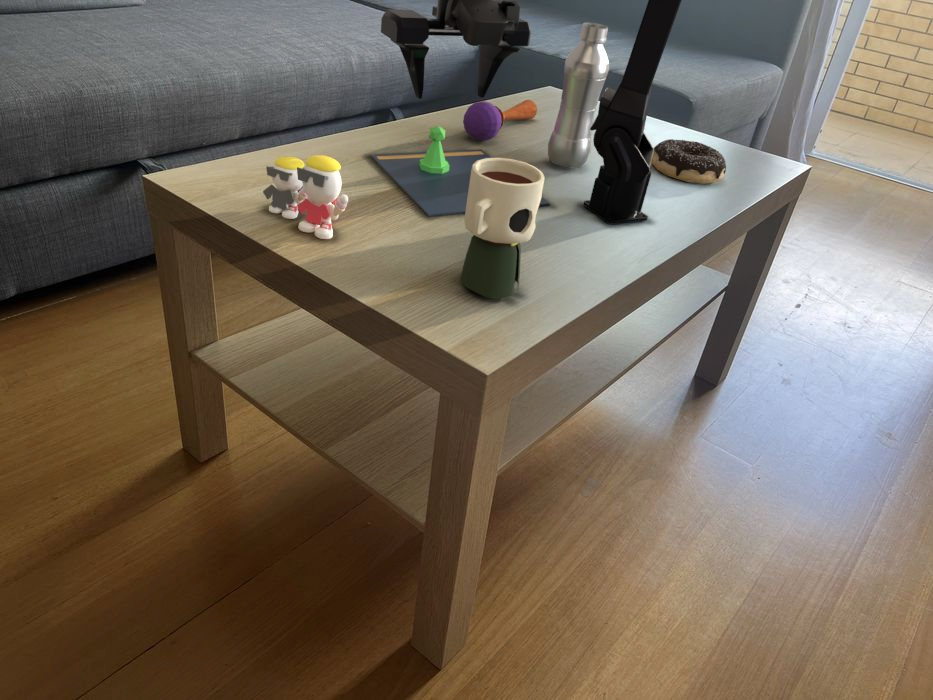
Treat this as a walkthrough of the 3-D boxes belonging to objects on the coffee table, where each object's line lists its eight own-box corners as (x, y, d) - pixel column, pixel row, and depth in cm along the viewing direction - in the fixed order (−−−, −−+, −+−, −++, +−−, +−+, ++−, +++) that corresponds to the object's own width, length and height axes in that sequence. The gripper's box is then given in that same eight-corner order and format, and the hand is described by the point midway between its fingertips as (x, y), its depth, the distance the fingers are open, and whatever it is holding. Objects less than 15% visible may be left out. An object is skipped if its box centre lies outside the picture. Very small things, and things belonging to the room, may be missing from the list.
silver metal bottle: (539, 165, 109) (566, 24, 98) (551, 153, 115) (579, 17, 103) (580, 176, 108) (612, 34, 96) (590, 163, 113) (623, 27, 102)
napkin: (480, 151, 111) (481, 149, 111) (549, 205, 97) (550, 202, 97) (370, 156, 103) (370, 154, 103) (428, 216, 89) (428, 213, 89)
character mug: (492, 321, 71) (515, 198, 64) (432, 295, 74) (447, 174, 66) (540, 280, 79) (565, 167, 72) (484, 258, 82) (503, 147, 75)
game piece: (445, 176, 100) (450, 133, 97) (415, 170, 100) (419, 127, 97) (451, 165, 104) (456, 124, 100) (422, 160, 104) (426, 118, 101)
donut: (681, 156, 122) (688, 132, 120) (736, 183, 114) (745, 158, 112) (635, 162, 116) (642, 138, 114) (691, 191, 109) (699, 165, 106)
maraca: (549, 101, 125) (495, 114, 109) (536, 133, 128) (482, 150, 112) (520, 85, 126) (463, 96, 110) (508, 118, 130) (451, 132, 114)
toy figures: (258, 207, 85) (256, 137, 80) (288, 198, 88) (288, 131, 83) (326, 245, 79) (327, 173, 75) (355, 235, 82) (359, 165, 78)
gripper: (421, -26, 78) (409, 119, 86) (564, -17, 86) (540, 115, 94) (383, -44, 85) (376, 91, 94) (517, -34, 93) (499, 89, 102)
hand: (450, 97), depth 96 cm, fingers open, 9 cm apart
